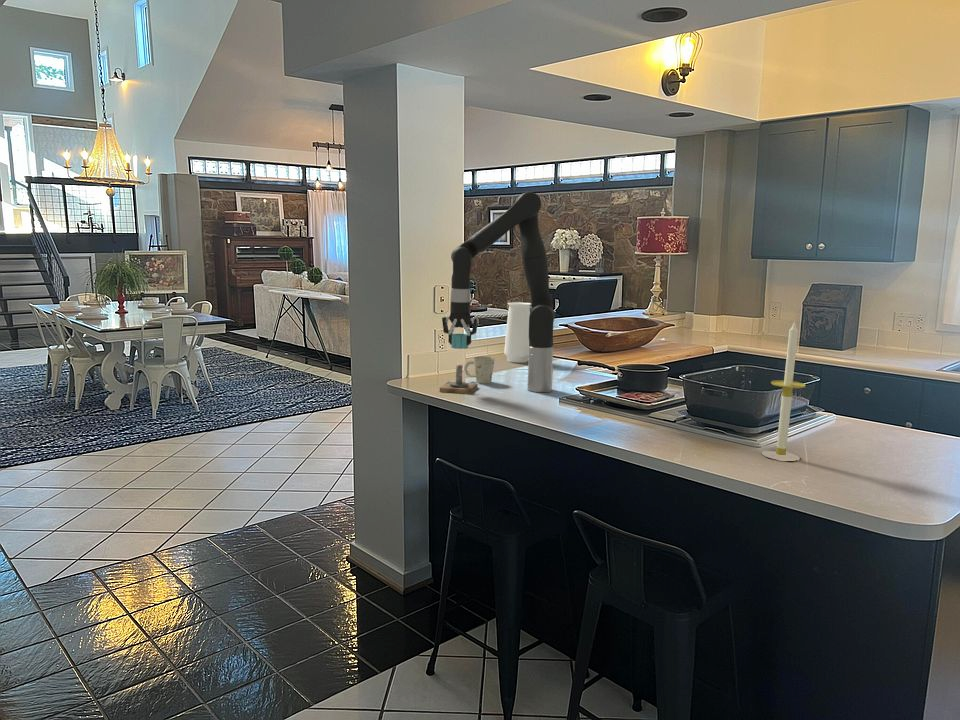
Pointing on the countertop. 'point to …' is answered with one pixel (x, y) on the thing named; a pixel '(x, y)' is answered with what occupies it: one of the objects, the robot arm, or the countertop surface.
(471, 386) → the post block
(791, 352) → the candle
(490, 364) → the mug
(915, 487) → the countertop surface
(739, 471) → the countertop surface
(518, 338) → the vase
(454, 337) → the collar
